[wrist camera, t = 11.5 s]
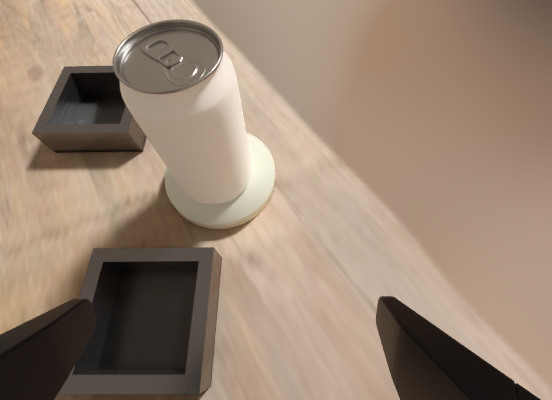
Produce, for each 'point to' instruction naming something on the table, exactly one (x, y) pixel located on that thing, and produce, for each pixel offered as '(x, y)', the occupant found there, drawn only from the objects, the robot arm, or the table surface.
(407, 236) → the table surface
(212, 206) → the pad
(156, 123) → the can
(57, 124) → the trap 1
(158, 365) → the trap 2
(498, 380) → the robot arm
